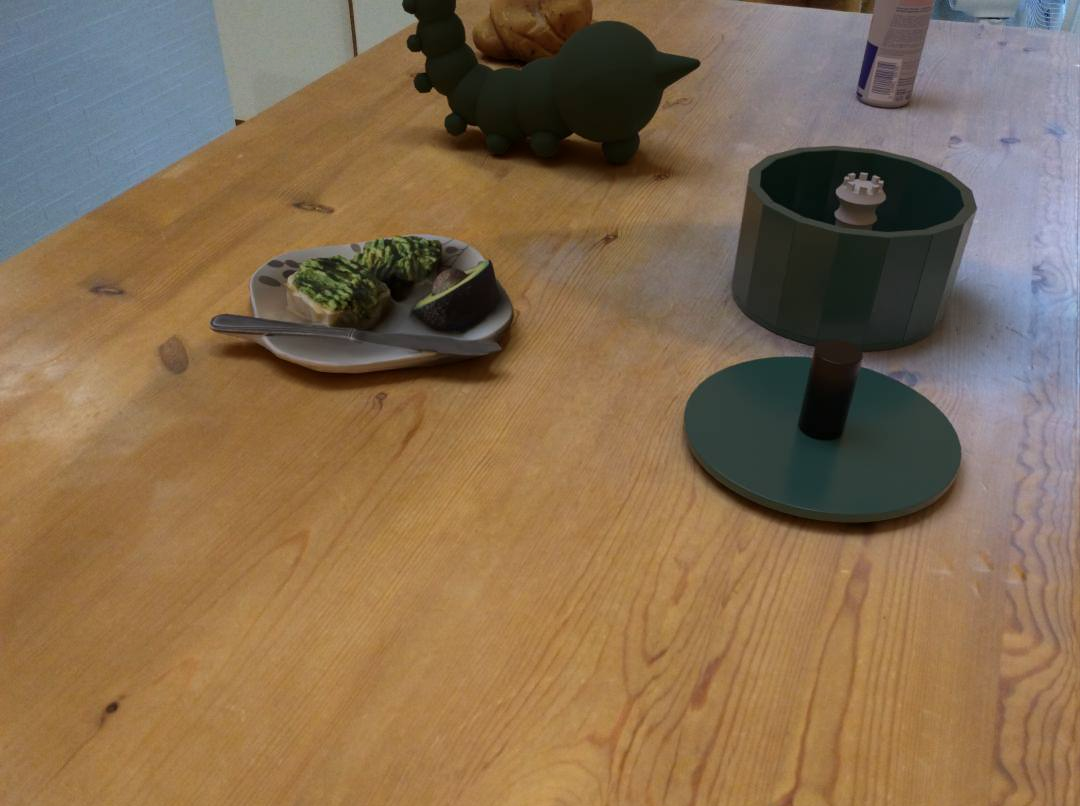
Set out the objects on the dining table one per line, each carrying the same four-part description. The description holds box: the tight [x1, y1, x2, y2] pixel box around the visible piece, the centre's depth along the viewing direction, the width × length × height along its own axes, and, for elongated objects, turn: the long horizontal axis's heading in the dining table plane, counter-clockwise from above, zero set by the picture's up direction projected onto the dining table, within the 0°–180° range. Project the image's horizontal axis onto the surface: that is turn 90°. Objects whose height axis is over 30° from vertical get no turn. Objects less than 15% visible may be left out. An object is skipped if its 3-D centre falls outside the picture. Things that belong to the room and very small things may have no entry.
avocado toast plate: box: [209, 233, 515, 374], centre depth 69 cm, size 19×18×5 cm
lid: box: [682, 340, 962, 523], centre depth 59 cm, size 16×16×6 cm
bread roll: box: [471, 0, 594, 63], centre depth 112 cm, size 13×10×8 cm
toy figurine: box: [401, 0, 701, 165], centre depth 88 cm, size 9×19×25 cm
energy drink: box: [855, 0, 936, 109], centre depth 103 cm, size 5×5×12 cm
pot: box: [731, 145, 978, 352], centre depth 72 cm, size 15×15×8 cm
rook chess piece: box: [835, 173, 886, 230], centre depth 72 cm, size 4×4×8 cm
